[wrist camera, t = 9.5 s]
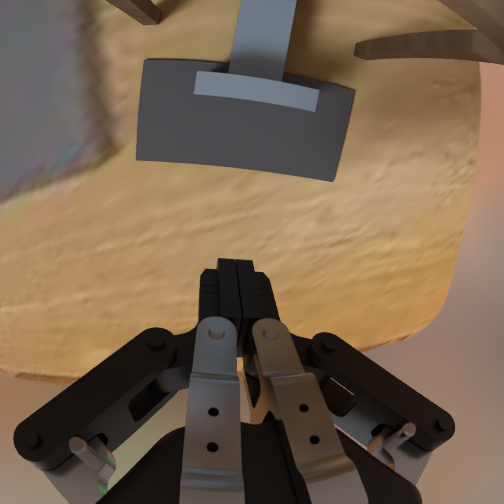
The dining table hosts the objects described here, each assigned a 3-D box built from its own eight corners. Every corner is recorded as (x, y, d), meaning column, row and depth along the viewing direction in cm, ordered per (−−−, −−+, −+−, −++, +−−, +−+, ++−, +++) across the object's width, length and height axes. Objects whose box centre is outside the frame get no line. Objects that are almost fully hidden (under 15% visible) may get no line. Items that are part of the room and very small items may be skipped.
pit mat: (136, 159, 18) (135, 160, 18) (144, 60, 14) (144, 59, 14) (332, 181, 20) (333, 182, 20) (353, 90, 17) (354, 90, 16)
